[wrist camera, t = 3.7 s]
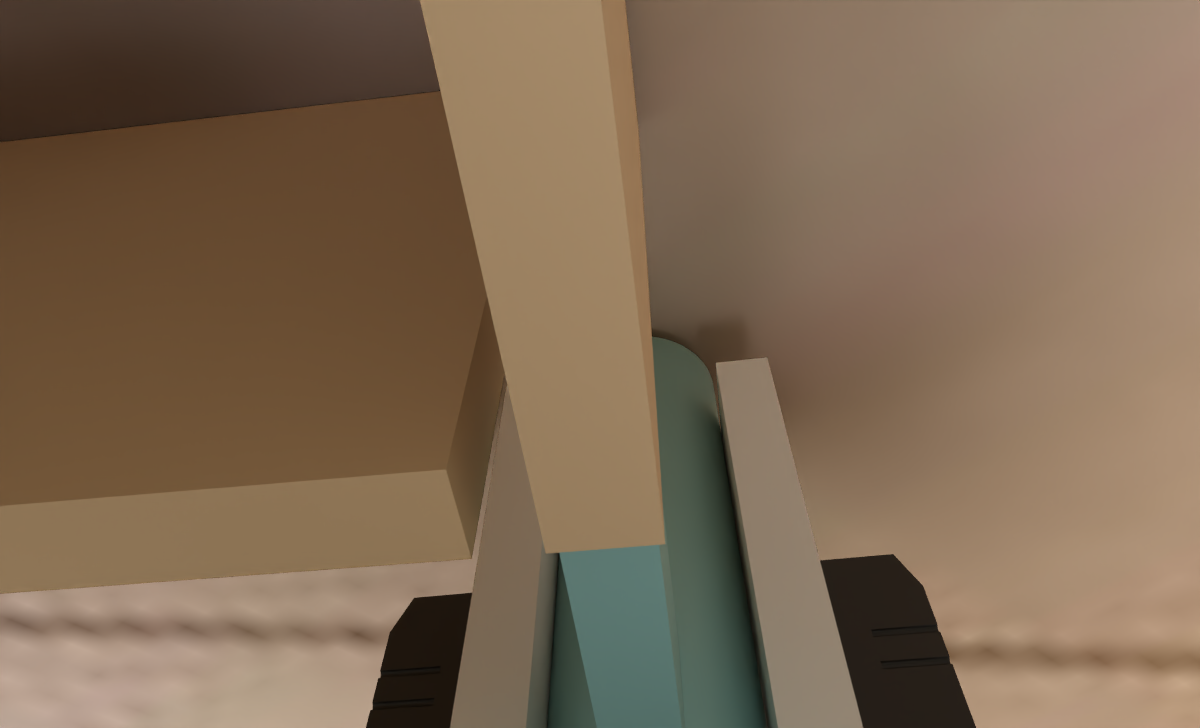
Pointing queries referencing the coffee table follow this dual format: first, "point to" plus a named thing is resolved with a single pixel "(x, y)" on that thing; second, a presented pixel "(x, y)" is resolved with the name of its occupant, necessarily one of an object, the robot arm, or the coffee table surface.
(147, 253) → the carton
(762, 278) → the coffee table surface
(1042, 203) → the coffee table surface
